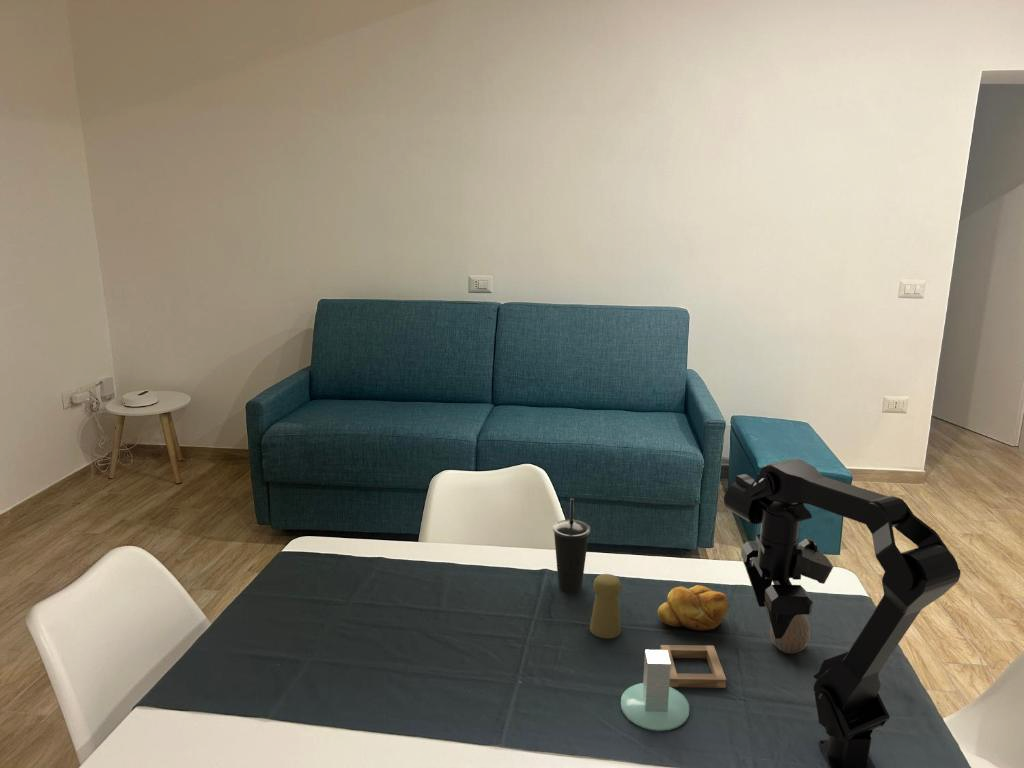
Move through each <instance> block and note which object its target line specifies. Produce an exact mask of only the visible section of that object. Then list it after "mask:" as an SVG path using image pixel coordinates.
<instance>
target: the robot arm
mask: <svg viewBox="0 0 1024 768" xmlns="http://www.w3.org/2000/svg"><path fill="white" fill-rule="evenodd" d="M760 469H761V470H760V472H759V475H758V476H757V477H756V478H755V479H754V478H753V477H751V476H750V475H748V474H746V473H744V474H739V475H738V474H737V475H736V476H735V477H734V478H735V480H734V482H733V483H731V484H730V486H729V487H728V488H727V490H726V491H725V494H724V495H723V503H724V506H725V508H726V509H727V510H728V511H730V512H731V513H734V514H735V515H737V516H738V517H740V518H742V519H744V520H746V521H747V522H749V523H750V524H752V525H753V524H754V525H759V524H760V530H759V531H760V532H759V534H758V533H757V534H756V535H755V540H747V541H746V542H745V543H743V544H742V545H741V551H740V553H741V554H740V556H741V558H742V561H743V565H744V568H745V571H746V573H747V577H748V579H749V582H750V585H751V587H752V591H753V593H754V597H755V599H756V602H757V605H758V607H759V608H764V607H765V610H766V613H767V616H768V620H769V623H770V625H771V627H772V631H773V634H774V637H775V638H776V639H781V638H782V637H783V635H784V634H785V632H786V630H787V628H788V626H789V624H790V623H791V621H792V619H793V618H794V617H795V616H796V615H804V614H805V616H806V615H807V616H809V615H810V614H812V612H813V600H812V598H811V597H810V595H809V593H808V592H807V590H806V589H805V588H804V587H803V585H801V584H792V582H791V581H790V579H792V580H797V581H799V580H801V579H802V577H806V578H808V579H811V580H814V581H816V582H818V583H819V584H825V583H826V581H827V580H828V578H829V576H830V574H831V572H832V571H833V569H834V566H833V564H832V563H831V561H830V560H829V559H828V557H827V556H826V555H825V554H823V553H822V551H821V550H818V545H817V543H816V542H815V541H814V540H813V539H810V538H807V537H806V538H805V539H803V540H802V541H800V542H799V543H798V541H799V533H800V532H799V531H800V522H803V521H807V520H811V519H813V515H812V513H811V511H810V510H809V509H808V508H807V507H806V506H805V504H807V505H810V506H813V507H816V508H818V509H822V510H825V511H827V512H830V513H833V514H835V515H839V516H841V517H844V518H846V519H847V518H848V519H849V520H851V521H854V522H858V523H860V524H864V525H865V527H867V529H868V530H869V532H870V534H871V536H872V541H873V549H874V555H875V559H876V560H877V561H878V563H879V565H880V566H881V568H882V570H883V572H884V573H883V576H882V577H881V585H882V591H883V595H882V597H881V599H880V601H879V603H878V604H877V606H876V607H875V608H874V610H873V612H872V613H871V614H870V617H869V618H868V620H867V621H866V623H865V625H864V626H863V627H862V629H861V631H860V633H859V634H858V636H857V637H856V639H855V641H854V642H853V643H852V645H851V647H850V649H849V650H848V651H846V652H843V653H840V654H838V655H834V656H831V657H829V658H826V659H824V660H823V662H822V663H821V665H820V668H819V671H818V672H817V673H815V674H813V678H814V679H815V681H814V683H813V692H814V699H815V705H816V712H817V717H818V718H817V719H818V723H819V725H821V726H823V727H824V729H825V733H826V734H827V735H828V739H820V740H819V741H818V746H819V748H820V750H821V752H822V754H823V756H824V759H825V761H826V762H827V765H828V767H829V768H876V766H875V765H874V763H873V761H872V758H871V757H870V750H871V744H872V740H873V739H872V738H873V730H874V729H877V728H880V727H884V726H885V725H886V724H887V723H888V722H889V720H890V717H891V716H890V714H889V712H888V710H887V708H886V705H885V704H884V702H883V700H882V698H881V696H880V694H879V691H880V689H881V683H882V682H881V679H880V671H881V670H882V668H883V667H884V665H885V664H886V663H887V662H888V659H889V658H890V657H891V656H892V654H893V652H894V651H895V649H896V648H897V647H898V644H900V642H901V641H902V639H903V638H904V637H905V635H906V633H907V631H908V630H909V629H910V627H911V626H912V624H913V623H914V622H915V620H916V619H917V617H918V615H919V614H920V612H921V611H922V610H923V609H925V608H926V607H928V606H929V605H930V604H932V603H933V602H935V601H936V600H938V599H940V598H941V597H942V596H943V595H945V594H946V593H947V592H948V591H950V589H952V588H953V587H954V586H956V584H957V583H958V581H959V580H960V578H961V569H960V568H959V565H958V562H957V560H956V558H955V555H953V554H952V552H951V551H950V550H949V548H948V547H947V545H946V544H945V543H944V541H943V540H942V538H941V537H940V535H939V534H938V533H937V531H936V530H935V529H933V528H932V527H931V526H930V525H928V524H927V523H925V522H924V521H923V520H922V519H920V518H919V517H918V516H916V515H915V514H914V513H913V512H912V510H911V508H910V507H909V505H908V504H907V503H906V501H904V499H902V498H901V497H897V496H894V495H891V496H889V495H885V494H882V493H878V492H876V491H872V490H870V489H866V488H862V487H859V486H855V485H853V484H850V483H846V482H843V481H840V480H837V479H833V478H830V477H828V476H825V475H823V474H821V473H820V472H819V471H818V469H817V467H815V466H814V465H812V464H809V463H808V462H806V461H804V460H802V459H800V458H791V459H787V460H782V461H778V462H772V463H768V464H765V465H763V466H762V468H760ZM893 528H894V529H896V531H898V532H899V533H900V534H902V535H903V536H904V537H906V538H907V539H908V540H909V541H911V542H912V543H913V544H914V545H915V546H917V547H916V548H913V549H910V550H906V551H903V552H901V551H900V550H899V549H900V548H898V546H897V545H896V539H895V533H894V529H893ZM772 583H773V584H772Z"/></svg>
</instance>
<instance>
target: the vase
mask: <svg viewBox="0 0 1024 768" xmlns="http://www.w3.org/2000/svg"><path fill="white" fill-rule="evenodd" d="M769 631H770V632H769V633H770V638H771V641H772V643H773V644H774V646H775V647H777V649H778V650H779V651H781V652H783V653H786V654H793V655H794V654H798V653H800V652H802V651H803V650H804V649H805V648H806V647H807V645H808V644H809V641H810V639H811V638H810V637H811V625H810V621H809V618H808V617H807V616H806V614H804V615H796V616H795V617H794V618H793V619H792V621H791V623H790V624H789V626H788V628H787V630H786V632H785V634H784V635H783V637H782V638H781V639H776V638H775V637H774V634H773V631H772V627H771V624H770V626H769Z"/></svg>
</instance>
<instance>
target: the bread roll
mask: <svg viewBox="0 0 1024 768" xmlns="http://www.w3.org/2000/svg"><path fill="white" fill-rule="evenodd" d="M666 600H667V601H665V602H663V603H662V604H660V606H659V607H658V609H657V616H658V618H659V620H660V621H661V622H662V623H663V624H666V625H668V626H670V627H675V628H676V627H679V628H680V627H684V628H687V629H690V630H693V631H699V632H702V631H703V632H705V631H711V630H715V629H716V628H717V627H719V626H720V624H721V623H722V621H723V619H724V618H725V617H726V615H727V614H728V609H729V601H728V598H727V595H726V594H724V593H723V592H720V591H714V590H712V589H711V588H709V587H706V586H703V585H701V584H696V585H694V586H692V587H689V588H687V587H685V586H676V587H673V588H672V589H671V590H670V591H669V592H668V594H667V599H666Z"/></svg>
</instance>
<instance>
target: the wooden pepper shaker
mask: <svg viewBox="0 0 1024 768" xmlns="http://www.w3.org/2000/svg"><path fill="white" fill-rule="evenodd" d="M592 586H593V587H592V588H593V592H594V593H595V596H594V602H593V607H592V611H591V619H590V624H589V632H590V633H591V634H592V635H593V636H595V637H598V638H599V639H600V638H601V639H615V638H617V637H618V636H620V635H621V632H622V623H621V615H620V614H621V613H620V604H619V601H620V600H619V595H620V592H621V590H622V583H621V580H620V579H619V578H618V576H616V575H613V574H612V573H603V574H599V575H598V576H596V577H595V578H594V581H593V584H592Z"/></svg>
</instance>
